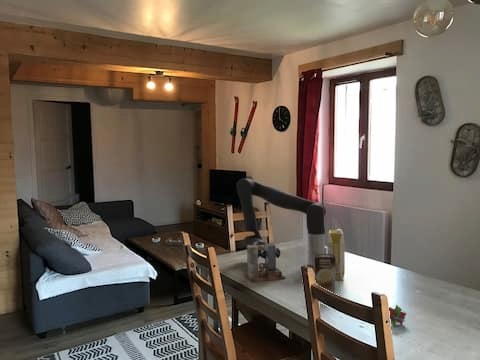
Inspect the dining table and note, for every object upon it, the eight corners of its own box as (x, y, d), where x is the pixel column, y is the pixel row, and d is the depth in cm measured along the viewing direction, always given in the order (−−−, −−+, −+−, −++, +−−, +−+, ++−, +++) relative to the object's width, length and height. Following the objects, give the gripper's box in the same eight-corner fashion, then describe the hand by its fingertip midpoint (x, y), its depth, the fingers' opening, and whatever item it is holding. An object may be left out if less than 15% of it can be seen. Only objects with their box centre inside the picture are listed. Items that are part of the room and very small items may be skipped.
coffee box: (314, 293, 175) (314, 257, 173) (313, 288, 181) (312, 253, 180) (335, 293, 174) (335, 257, 172) (333, 288, 180) (333, 253, 179)
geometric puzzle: (405, 314, 146) (392, 297, 146) (414, 322, 139) (401, 304, 139) (390, 326, 146) (377, 309, 146) (398, 334, 139) (384, 317, 139)
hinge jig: (276, 271, 207) (275, 240, 206) (284, 278, 195) (284, 246, 193) (244, 274, 203) (244, 243, 202) (251, 282, 191) (251, 249, 189)
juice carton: (344, 281, 189) (344, 231, 187) (327, 281, 190) (327, 231, 188) (343, 275, 198) (343, 227, 196) (327, 274, 199) (327, 227, 197)
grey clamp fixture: (272, 272, 202) (272, 243, 201) (276, 275, 197) (275, 245, 196) (257, 274, 200) (257, 244, 199) (260, 277, 195) (260, 246, 194)
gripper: (248, 242, 210) (257, 250, 194) (274, 240, 213) (285, 247, 197) (248, 256, 210) (257, 265, 194) (274, 254, 214) (285, 262, 198)
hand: (271, 256), depth 196 cm, fingers open, 6 cm apart
